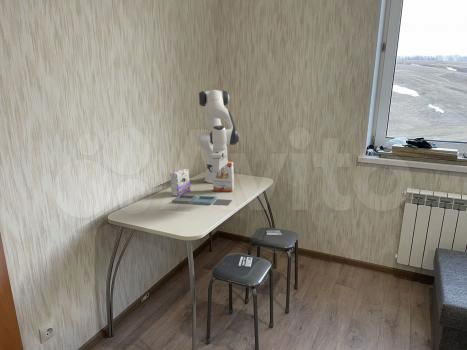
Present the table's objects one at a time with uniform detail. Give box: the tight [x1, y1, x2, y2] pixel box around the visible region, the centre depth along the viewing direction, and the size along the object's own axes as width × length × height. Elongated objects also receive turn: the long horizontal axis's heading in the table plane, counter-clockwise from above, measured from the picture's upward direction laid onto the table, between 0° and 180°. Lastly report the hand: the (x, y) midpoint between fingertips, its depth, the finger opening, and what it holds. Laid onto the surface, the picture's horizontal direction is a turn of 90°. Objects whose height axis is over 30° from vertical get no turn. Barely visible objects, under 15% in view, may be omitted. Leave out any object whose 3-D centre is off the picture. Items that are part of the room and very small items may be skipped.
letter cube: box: [217, 171, 225, 179], centre depth 217 cm, size 4×4×4 cm
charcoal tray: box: [172, 194, 198, 205], centre depth 228 cm, size 12×12×2 cm
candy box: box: [169, 168, 191, 197], centre depth 243 cm, size 14×6×16 cm, turn 149°
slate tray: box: [192, 195, 217, 206], centre depth 224 cm, size 12×12×2 cm
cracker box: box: [212, 161, 235, 193], centre depth 245 cm, size 14×6×21 cm, turn 76°
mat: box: [212, 198, 233, 206], centre depth 221 cm, size 10×10×1 cm
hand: (221, 174), depth 217 cm, fingers closed on letter cube, 4 cm apart
